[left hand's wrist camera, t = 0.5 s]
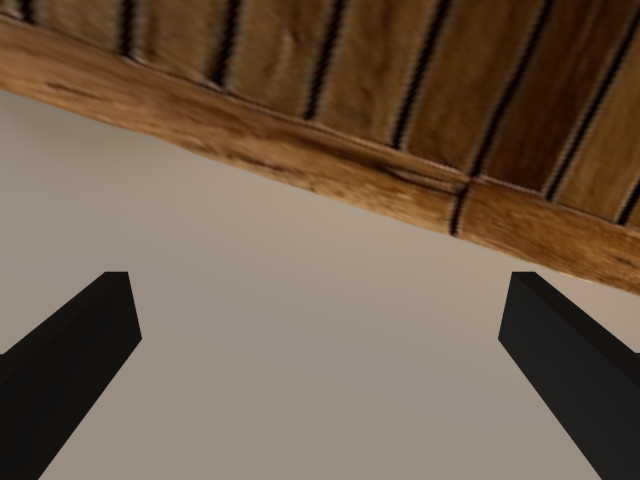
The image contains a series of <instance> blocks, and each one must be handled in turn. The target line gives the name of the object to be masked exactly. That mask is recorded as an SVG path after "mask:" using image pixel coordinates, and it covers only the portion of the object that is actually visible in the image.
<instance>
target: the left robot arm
mask: <svg viewBox="0 0 640 480" xmlns="http://www.w3.org/2000/svg"><path fill="white" fill-rule="evenodd" d="M141 340H142V336H141V331H140V327H139V322H138V317H137V313H136V308H135V303H134V299H133V294H132V289H131V285H130V280H129V275H128V272H104V273H103V274H102V275H101V276H99V277H98V278H97V279H96V280H94V281H93V282H92V283H91V284H90V285H88V286H87V287H86V288H84V289H83V290H82V291H81V292H80V293H78V294H77V295H76V296H75V297H73V298H72V299H71V300H70V301H68V302H67V303H66V304H65V305H63V306H62V307H61V308H60V309H59V310H57V311H56V312H55V313H54V314H52V315H51V316H50V317H49V318H47V319H46V320H45V321H44V322H42V323H41V324H40V325H39V326H37V327H36V328H35V329H34V330H32V331H31V332H30V333H29V334H28V335H26V336H25V337H24V338H23V339H21V340H20V341H19V342H18V343H16V344H15V345H14V346H13V347H11V348H10V349H9V350H8V351H7V352H5V353H4V354H0V480H38V479H39V478H40V476H41V475H42V474H43V472H44V471H45V470H46V468H47V467H48V466H49V464H50V463H51V461H52V460H53V459H54V457H55V456H56V455H57V453H58V452H59V451H60V449H61V448H62V447H63V445H64V444H65V443H66V441H67V440H68V439H69V437H70V436H71V434H72V433H73V432H74V430H75V429H76V428H77V426H78V425H79V424H80V422H81V421H82V420H83V418H84V417H85V416H86V414H87V413H88V411H89V410H90V409H91V407H92V406H93V405H94V403H95V402H96V401H97V399H98V398H99V397H100V395H101V394H102V393H103V391H104V390H105V388H106V387H107V386H108V384H109V383H110V382H111V380H112V379H113V378H114V376H115V375H116V374H117V372H118V371H119V370H120V368H121V367H122V365H123V364H124V363H125V361H126V360H127V359H128V357H129V356H130V355H131V353H132V352H133V351H134V349H135V348H136V346H137V345H138V344H139V342H140V341H141ZM498 340H499V341H500V342H501V344H502V345H503V346H504V348H505V349H506V351H507V352H508V353H509V355H510V356H511V357H512V359H513V360H514V361H515V363H516V364H517V365H518V367H519V368H520V370H521V371H522V372H523V374H524V375H525V376H526V378H527V379H528V380H529V382H530V383H531V384H532V386H533V387H534V388H535V390H536V391H537V393H538V394H539V395H540V397H541V398H542V399H543V401H544V402H545V403H546V405H547V406H548V407H549V409H550V410H551V411H552V413H553V414H554V416H555V417H556V418H557V420H558V421H559V422H560V424H561V425H562V426H563V428H564V429H565V430H566V432H567V433H568V434H569V436H570V437H571V439H572V440H573V441H574V443H575V444H576V445H577V447H578V448H579V449H580V450H581V452H582V453H583V455H584V456H585V457H586V459H587V460H588V461H589V463H590V464H591V466H592V467H593V468H594V470H595V471H596V472H597V474H598V475H599V476H600V478H601V479H602V480H640V353H635V352H634V351H632V350H631V349H630V348H629V347H627V346H626V345H625V344H624V343H622V342H621V341H620V340H619V339H617V338H616V337H615V336H614V335H612V334H611V333H610V332H609V331H608V330H606V329H605V328H604V327H603V326H601V325H600V324H599V323H598V322H596V321H595V320H594V319H593V318H591V317H590V316H589V315H588V314H586V313H585V312H584V311H583V310H581V309H580V308H579V307H578V306H577V305H575V304H574V303H573V302H571V301H570V300H569V299H568V298H567V297H565V296H564V295H563V294H562V293H560V292H559V291H558V290H557V289H555V288H554V287H553V286H552V285H550V284H549V283H548V282H547V281H546V280H544V279H543V278H542V277H541V276H539V275H538V274H537V273H536V272H512V275H511V280H510V285H509V289H508V294H507V299H506V303H505V308H504V313H503V318H502V322H501V327H500V331H499V336H498Z"/></svg>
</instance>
